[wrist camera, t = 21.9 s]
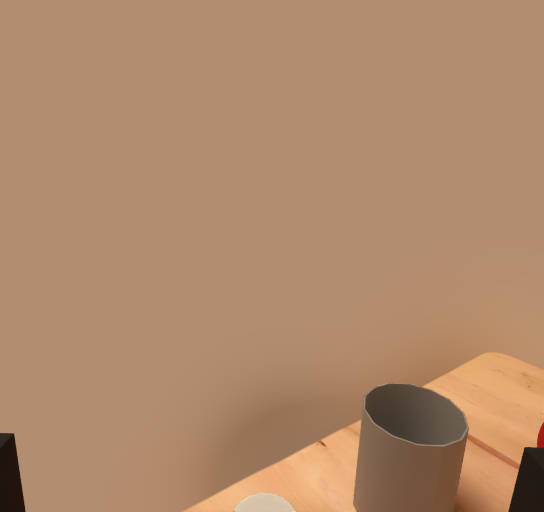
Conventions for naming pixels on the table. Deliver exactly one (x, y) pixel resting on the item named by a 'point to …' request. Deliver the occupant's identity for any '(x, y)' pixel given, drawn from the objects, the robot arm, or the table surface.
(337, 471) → the table surface
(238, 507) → the pill bottle
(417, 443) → the cup
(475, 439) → the table surface
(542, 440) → the fruit
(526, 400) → the table surface
